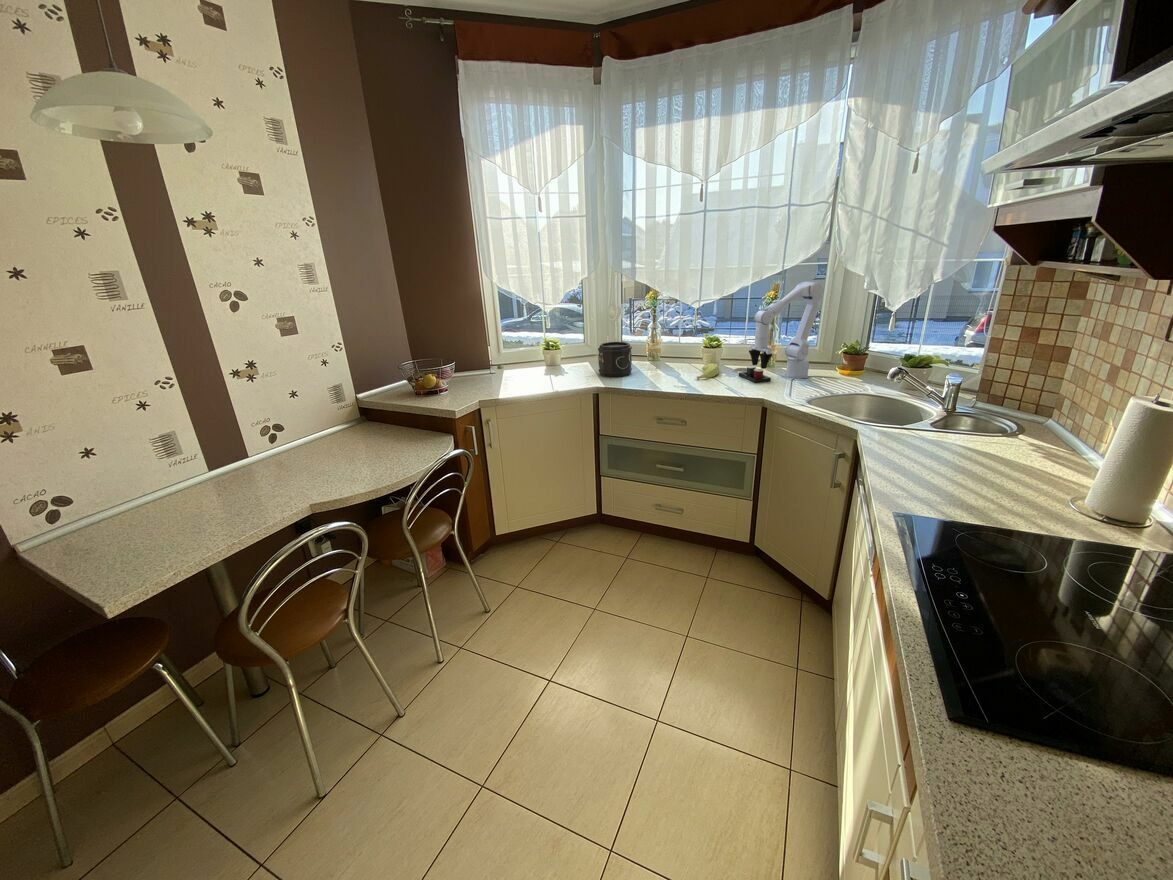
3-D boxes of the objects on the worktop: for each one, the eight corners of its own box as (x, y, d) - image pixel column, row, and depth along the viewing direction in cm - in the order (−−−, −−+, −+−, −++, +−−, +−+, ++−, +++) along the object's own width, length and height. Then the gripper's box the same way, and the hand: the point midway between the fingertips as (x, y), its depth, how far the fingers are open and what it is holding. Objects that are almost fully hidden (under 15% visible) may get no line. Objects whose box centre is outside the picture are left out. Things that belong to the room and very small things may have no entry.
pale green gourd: (725, 359, 241) (705, 371, 229) (728, 369, 243) (708, 382, 230) (702, 362, 251) (681, 375, 239) (705, 372, 253) (684, 385, 240)
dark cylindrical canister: (638, 371, 257) (638, 342, 251) (622, 379, 243) (622, 348, 237) (609, 368, 266) (608, 340, 260) (592, 375, 252) (591, 346, 246)
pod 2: (759, 378, 228) (760, 368, 227) (764, 381, 224) (765, 370, 223) (751, 379, 228) (752, 369, 226) (756, 382, 224) (757, 371, 222)
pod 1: (752, 375, 235) (753, 365, 233) (757, 377, 231) (757, 367, 229) (744, 376, 234) (744, 366, 232) (748, 378, 230) (749, 368, 228)
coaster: (746, 368, 252) (746, 367, 252) (754, 371, 244) (754, 370, 244) (731, 369, 250) (731, 368, 250) (739, 373, 243) (739, 372, 242)
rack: (738, 377, 236) (738, 372, 235) (753, 375, 237) (754, 371, 236) (754, 384, 222) (754, 379, 221) (770, 382, 223) (771, 377, 222)
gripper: (745, 335, 225) (743, 364, 230) (762, 340, 211) (759, 370, 216) (759, 334, 226) (756, 363, 231) (776, 339, 213) (773, 369, 218)
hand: (759, 366), depth 224 cm, fingers open, 7 cm apart
